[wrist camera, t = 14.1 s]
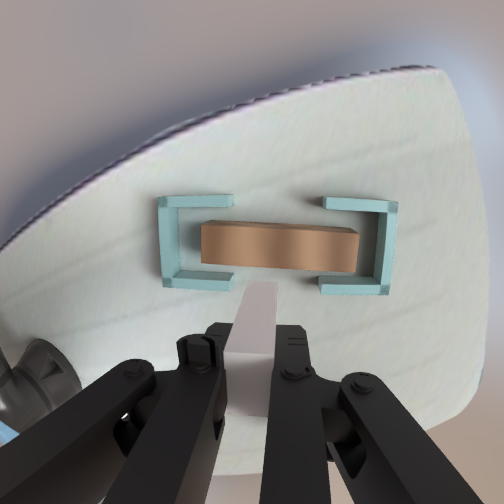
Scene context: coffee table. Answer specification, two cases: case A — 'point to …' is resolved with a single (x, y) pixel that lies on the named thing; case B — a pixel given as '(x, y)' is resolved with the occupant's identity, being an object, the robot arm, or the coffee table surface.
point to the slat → (279, 246)
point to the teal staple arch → (171, 244)
